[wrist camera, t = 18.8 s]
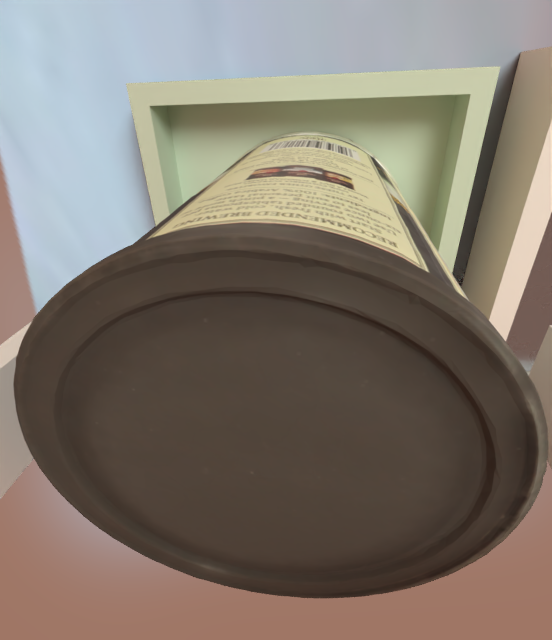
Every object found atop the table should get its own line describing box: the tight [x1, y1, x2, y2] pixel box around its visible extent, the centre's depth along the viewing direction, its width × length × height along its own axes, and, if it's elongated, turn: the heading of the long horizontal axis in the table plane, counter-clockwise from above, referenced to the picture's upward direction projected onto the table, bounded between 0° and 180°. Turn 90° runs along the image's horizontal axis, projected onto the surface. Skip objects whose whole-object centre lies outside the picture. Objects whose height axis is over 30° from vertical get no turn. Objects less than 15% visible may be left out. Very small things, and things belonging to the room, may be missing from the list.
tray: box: [126, 67, 500, 273], centre depth 19 cm, size 14×14×2 cm
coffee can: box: [13, 131, 549, 598], centre depth 13 cm, size 10×10×14 cm
